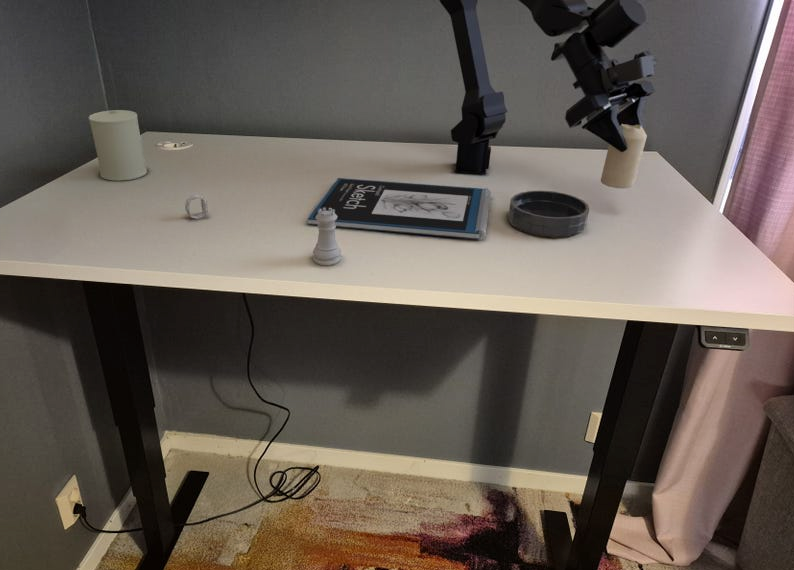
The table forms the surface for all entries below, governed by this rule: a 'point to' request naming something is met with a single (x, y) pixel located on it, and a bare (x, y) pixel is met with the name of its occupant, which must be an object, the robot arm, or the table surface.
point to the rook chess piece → (326, 239)
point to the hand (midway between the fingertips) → (633, 147)
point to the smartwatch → (203, 204)
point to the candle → (624, 159)
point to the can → (118, 144)
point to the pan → (548, 213)
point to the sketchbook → (407, 208)
